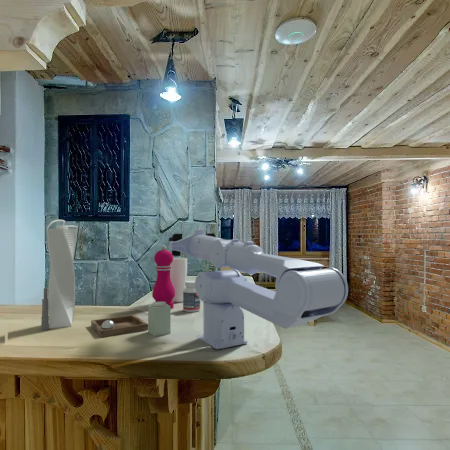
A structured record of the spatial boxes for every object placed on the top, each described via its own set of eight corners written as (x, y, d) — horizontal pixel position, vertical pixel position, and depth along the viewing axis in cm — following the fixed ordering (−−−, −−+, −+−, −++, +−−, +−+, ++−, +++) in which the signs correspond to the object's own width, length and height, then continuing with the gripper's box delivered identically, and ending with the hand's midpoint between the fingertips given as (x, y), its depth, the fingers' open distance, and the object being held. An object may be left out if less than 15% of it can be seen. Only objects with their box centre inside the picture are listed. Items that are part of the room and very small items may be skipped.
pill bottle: (197, 312, 104) (197, 283, 105) (180, 311, 105) (180, 282, 106) (202, 308, 110) (202, 280, 110) (186, 308, 111) (186, 280, 111)
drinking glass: (191, 300, 122) (191, 258, 123) (178, 304, 117) (178, 259, 117) (176, 298, 126) (176, 257, 126) (163, 301, 120) (163, 258, 121)
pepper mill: (164, 311, 106) (164, 245, 107) (147, 308, 110) (147, 245, 110) (179, 306, 112) (179, 245, 113) (162, 304, 116) (162, 244, 116)
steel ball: (116, 333, 81) (116, 320, 81) (103, 335, 79) (103, 322, 80) (113, 330, 84) (113, 318, 84) (100, 332, 82) (100, 319, 82)
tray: (148, 332, 84) (148, 324, 84) (100, 339, 78) (101, 331, 78) (134, 322, 93) (134, 314, 93) (91, 328, 88) (91, 320, 88)
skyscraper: (43, 326, 91) (44, 219, 92) (77, 322, 94) (77, 219, 95) (40, 334, 83) (41, 218, 84) (77, 330, 87) (77, 218, 87)
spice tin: (170, 336, 81) (170, 303, 81) (154, 338, 79) (154, 305, 79) (163, 331, 85) (164, 300, 85) (148, 334, 83) (148, 302, 83)
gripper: (233, 231, 86) (207, 226, 98) (180, 231, 79) (158, 226, 90) (232, 259, 87) (206, 251, 98) (179, 261, 79) (157, 253, 91)
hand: (183, 241), depth 94 cm, fingers open, 7 cm apart
